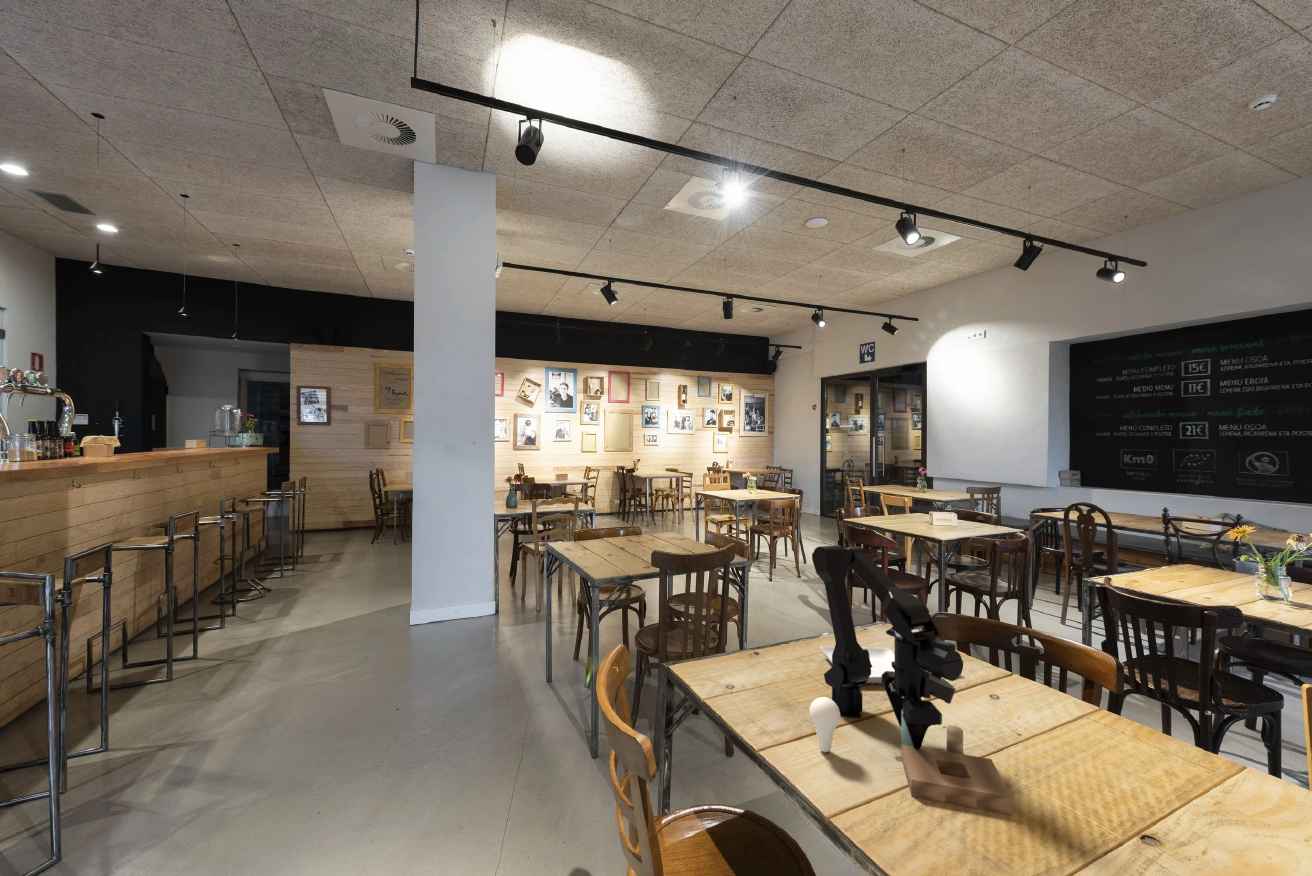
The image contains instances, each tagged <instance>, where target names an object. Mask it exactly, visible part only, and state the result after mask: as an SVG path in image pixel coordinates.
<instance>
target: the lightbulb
mask: <svg viewBox="0 0 1312 876" xmlns="http://www.w3.org/2000/svg"><path fill="white" fill-rule="evenodd" d="M809 716H810V719H811V721H812V724H813V725H814V728H815V731H816V739H817V747H818V749H819V750H820V751H821V752H823V753H827V752H830V751H831V749H832V741H833V738H834V737H833V736H834V732H835V731H836V730H835V729H836V728H837V726H838V725H839V723H840V720H841V715H840V711H839V708H838V706H837V705H836V703H835V702H834V701H832V698H829V697H826V696H821V697H820V696H819V697H817V698H815V699H814V700H813V701H812V702H811V703H810V706H809Z"/></svg>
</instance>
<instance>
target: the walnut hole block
mask: <svg viewBox="0 0 1312 876" xmlns="http://www.w3.org/2000/svg"><path fill="white" fill-rule="evenodd" d="M901 761H902V766H903V770H904V774H905V779H906V781H907V784H908V788H909V789H908V790H909V792H910V797H914V798H920V799H925V800H930V801H935V802H941V803H945V804H946V803H947V804H952V805H958V806H962V807H966V808H967V807H968V808H973V809H979V810H984V811H988V812H989V811H990V812H994V813H1001V814H1005V815H1011V816H1013V796H1012V794H1011V793H1010V790H1009V789H1008V786H1007V785H1006V783H1005V782H1004V780H1003V778H1002V776H1001V774H1000V773H999V770H998V768H997V766H996V765H995V763H994V762H993V760H992V758H989V757H982V756H975V755H968V754H964V753H963V754H957V753H951V752H947V751H944V750H939V749H938V750H937V749H932V748H925V747H920V749H915V748H914V747H913V746H907V745H902V750H901Z"/></svg>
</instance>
